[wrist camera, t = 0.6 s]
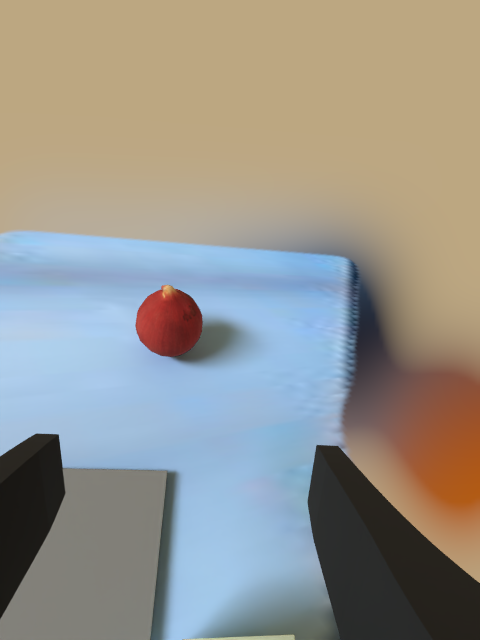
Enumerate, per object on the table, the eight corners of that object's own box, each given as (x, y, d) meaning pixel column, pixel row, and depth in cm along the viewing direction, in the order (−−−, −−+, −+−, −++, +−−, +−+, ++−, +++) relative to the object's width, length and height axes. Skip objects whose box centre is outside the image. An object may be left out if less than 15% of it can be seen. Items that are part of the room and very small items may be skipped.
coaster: (147, 665, 19) (147, 664, 18) (-62, 677, 18) (-69, 676, 17) (166, 475, 26) (167, 470, 26) (19, 472, 25) (16, 467, 24)
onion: (186, 324, 38) (191, 260, 32) (208, 364, 34) (218, 301, 29) (130, 337, 35) (125, 271, 30) (148, 382, 32) (146, 316, 26)
